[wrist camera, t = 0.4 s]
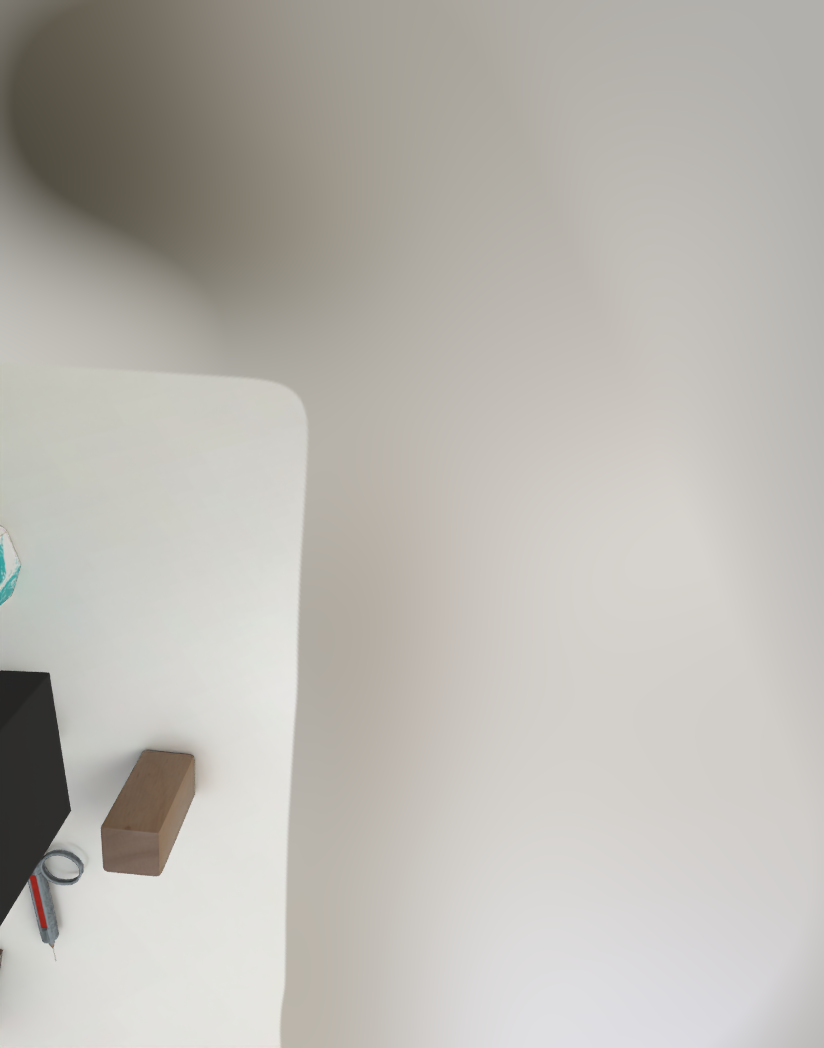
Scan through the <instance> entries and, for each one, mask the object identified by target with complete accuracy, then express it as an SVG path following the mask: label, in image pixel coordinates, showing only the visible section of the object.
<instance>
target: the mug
mask: <svg viewBox="0 0 824 1048" xmlns="http://www.w3.org/2000/svg"><path fill="white" fill-rule="evenodd" d="M20 567H21V564H20V562H19V559H18V557H17V554H16V552H15V549H14V547H13V545H12V542H11V540H10V537H9V535H8V532H7V531H6V530H5V529H4V528H2V527H1V526H0V605H1V604H2V603H3V602H5V601H6V600H7V599H8V598H9V597H10V596H12V593H13V590H14V586H15V583H16V580H17V576H18V573H19V570H20Z"/></svg>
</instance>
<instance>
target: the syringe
mask: <svg viewBox="0 0 824 1048" xmlns="http://www.w3.org/2000/svg"><path fill="white" fill-rule="evenodd" d="M56 855H59V856H64V857H67V858H69V859H71V860H72V861H73V862H75V863H76V865H77V866H78V868H79V876H78V877H76V878H74V879H59V878H57V877H55V876H52V875H51V874H50V873H49V872H48V871H47V870H46V867H45V865H44V862H45V860H46V859H47V858H48V857H51V856H56ZM83 868H84V864H83V863H82V861H81V860H80V858H78V857H77V856H76V855H74V854H73V853H71V852H68V851H65V850H53V851H51V852H48V853H47V854H46V855H45V856H44V855H43V857H42V859H41V860H40V862H39V864H38V865H37V867H36V869H35V870H34V872H33V873H32V875H31V877H30V878H29V880H28V883H29V888H30V892H31V896H32V900H33V905H34V909H35V913H36V917H37V922H38V926H39V930H40V934H41V938H42V941H43V942H44V943H49V945H50V946H51V947H52V948H53V947H54V943H55V940H56V939H57V938H58V935H59V932H58V927H57V922H56V917H55V912H54V908H53V903H52V899H51V894H50V890H49V885H48V881H50V882H53V883H55V884H59V885H72V884H74V883H76V882H78V880H79V878H80V877H81V875H82V873H83ZM47 880H48V881H47ZM53 951H54V948H53ZM54 956H55V953H54ZM55 960H56V957H55Z"/></svg>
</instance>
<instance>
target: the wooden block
mask: <svg viewBox="0 0 824 1048" xmlns="http://www.w3.org/2000/svg"><path fill="white" fill-rule="evenodd" d="M194 795H195V760H194V757H193V756H192V755H188V754H179V753H169V752H159V751H149V750H147V751H144V752H142V754H141V756H140V758H139V759H138V761H137V763H136V765H135V767H134V768H133V770H132V772H131V774H130V776H129V777H128V779H127V781H126V783H125V785H124V786H123V788H122V790H121V792H120V794H119V795H118V797H117V799H116V801H115V803H114V805H113V806H112V808H111V810H110V812H109V814H108V815H107V817H106V819H105V821H104V823H103V824H102V826H101V840H102V856H103V868H104V870H105V871H108V872H117V873H127V874H137V875H147V876H159V875H160V874H161V873H162V871H163V869H164V867H165V864H166V862H167V859H168V857H169V855H170V852H171V850H172V847H173V845H174V843H175V840H176V838H177V836H178V833H179V831H180V828H181V826H182V824H183V821H184V819H185V817H186V814H187V812H188V809H189V807H190V805H191V802H192V800H193V798H194Z"/></svg>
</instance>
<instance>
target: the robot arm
mask: <svg viewBox="0 0 824 1048" xmlns="http://www.w3.org/2000/svg"><path fill="white" fill-rule="evenodd" d="M70 811H71V808H70V802H69V795H68V789H67V783H66V776H65V770H64V763H63V757H62V751H61V744H60V738H59V731H58V725H57V719H56V712H55V706H54V700H53V693H52V687H51V680H50V674H49V673H45V672H24V671H3V670H1V671H0V926H1V924H2V922H3V921H4V919H5V917H6V916H7V914H8V913H9V911H10V909H11V908H12V906H13V904H14V903H15V901H16V900H17V898H18V896H19V895H20V893H21V891H22V890H23V888H24V886H25V885H26V883H27V882H28V880H29V878H30V877H31V875H32V873H33V872H34V870H35V869H36V867H37V865H38V864H39V862H40V860H41V859H42V857H43V855H44V854H45V852H46V851H47V849H48V847H49V846H50V844H51V842H52V841H53V839H54V838H55V836H56V834H57V833H58V831H59V829H60V828H61V826H62V824H63V823H64V821H65V820H66V818H67V816H68V815H69V813H70Z"/></svg>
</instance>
